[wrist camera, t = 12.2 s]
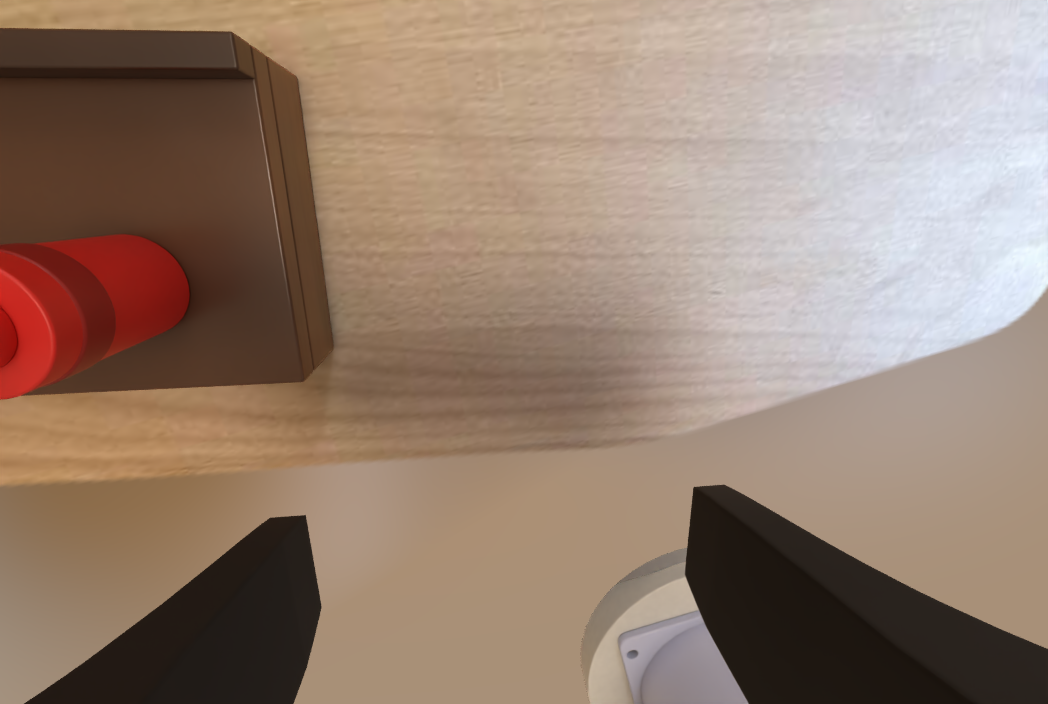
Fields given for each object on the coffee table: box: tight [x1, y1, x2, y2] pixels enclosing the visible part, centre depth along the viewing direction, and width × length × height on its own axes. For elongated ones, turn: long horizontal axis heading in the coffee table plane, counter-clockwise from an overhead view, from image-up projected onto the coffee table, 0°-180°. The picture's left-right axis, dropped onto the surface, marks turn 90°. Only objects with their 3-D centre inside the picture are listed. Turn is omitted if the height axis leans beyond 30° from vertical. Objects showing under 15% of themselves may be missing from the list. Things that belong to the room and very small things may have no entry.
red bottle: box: [0, 234, 190, 400], centre depth 11 cm, size 3×3×6 cm
